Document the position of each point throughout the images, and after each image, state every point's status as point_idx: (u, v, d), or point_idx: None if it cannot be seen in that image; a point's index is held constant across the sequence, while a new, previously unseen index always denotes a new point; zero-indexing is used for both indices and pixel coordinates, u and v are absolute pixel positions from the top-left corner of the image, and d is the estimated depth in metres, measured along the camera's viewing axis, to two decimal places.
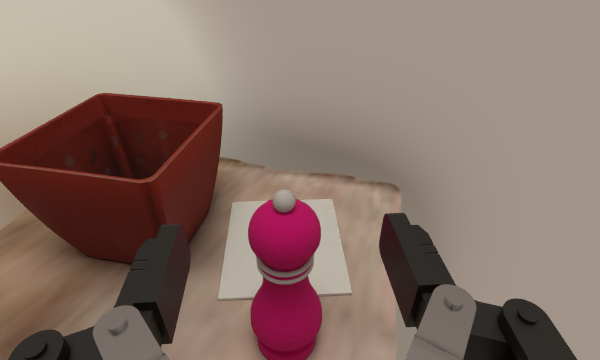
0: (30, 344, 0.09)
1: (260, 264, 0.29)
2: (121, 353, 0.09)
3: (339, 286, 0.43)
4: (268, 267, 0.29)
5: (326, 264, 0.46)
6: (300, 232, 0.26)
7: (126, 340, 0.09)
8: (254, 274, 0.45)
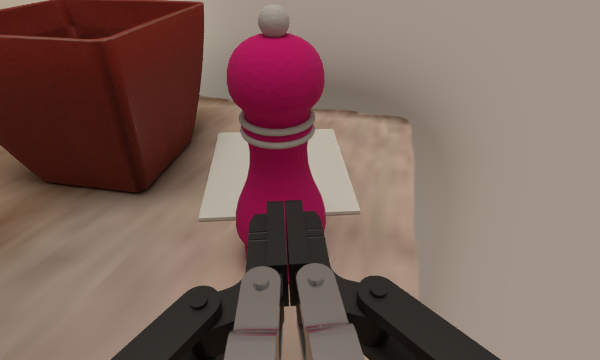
0: (197, 295, 0.10)
1: (244, 123, 0.22)
2: (274, 305, 0.10)
3: (344, 204, 0.36)
4: (255, 125, 0.22)
5: (328, 185, 0.39)
6: (296, 57, 0.19)
7: (259, 298, 0.10)
8: None
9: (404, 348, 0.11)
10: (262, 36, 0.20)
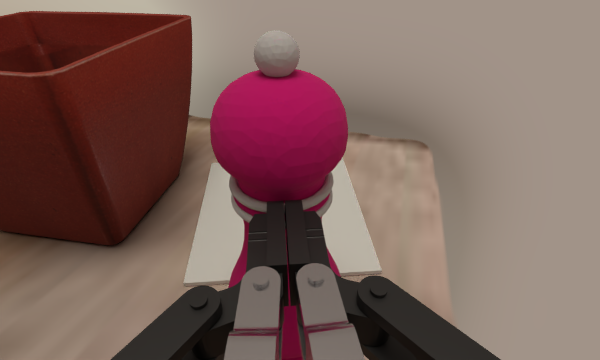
0: (197, 294, 0.10)
1: (236, 193, 0.16)
2: (274, 305, 0.10)
3: (362, 261, 0.30)
4: (251, 197, 0.16)
5: (341, 234, 0.32)
6: (311, 109, 0.13)
7: (259, 298, 0.10)
8: (239, 249, 0.31)
9: (404, 348, 0.11)
10: (260, 76, 0.14)
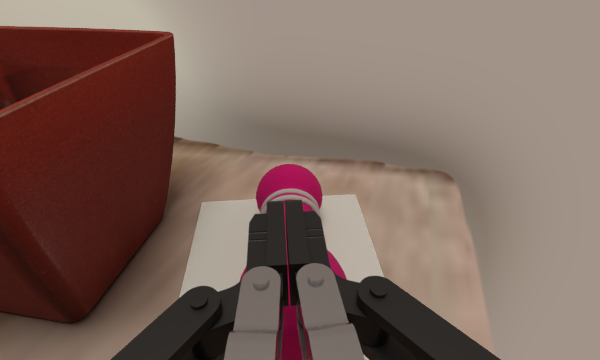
0: (197, 294, 0.10)
1: (266, 199, 0.29)
2: (274, 305, 0.10)
3: None
4: (274, 197, 0.29)
5: None
6: None
7: (259, 298, 0.10)
8: None
9: (404, 348, 0.11)
10: None
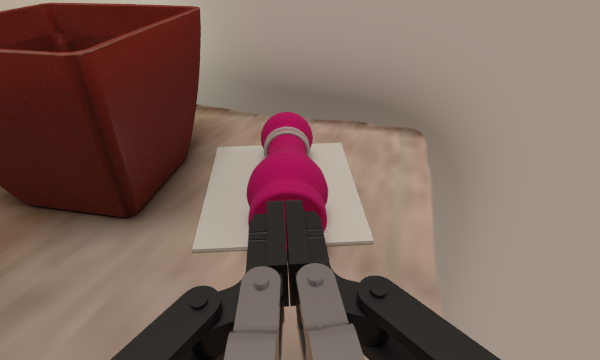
0: (197, 295, 0.10)
1: None
2: (274, 305, 0.10)
3: (355, 233, 0.32)
4: None
5: (337, 209, 0.35)
6: None
7: (259, 298, 0.10)
8: (242, 221, 0.34)
9: (404, 348, 0.11)
10: None
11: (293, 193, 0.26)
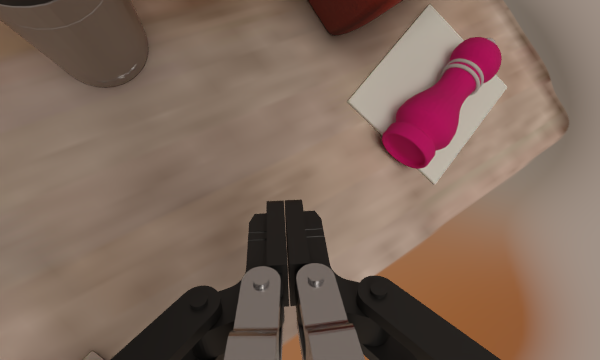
0: (197, 295, 0.10)
1: (462, 58, 0.43)
2: (274, 305, 0.10)
3: (432, 171, 0.46)
4: (467, 62, 0.42)
5: None
6: None
7: (259, 299, 0.10)
8: (387, 104, 0.45)
9: (404, 348, 0.11)
10: None
11: (421, 150, 0.39)
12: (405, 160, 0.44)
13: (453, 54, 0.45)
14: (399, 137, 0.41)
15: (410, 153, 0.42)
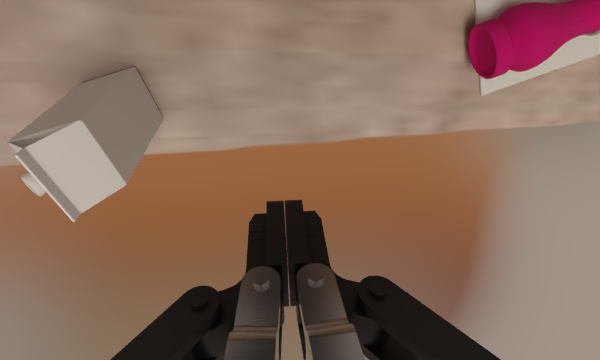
0: (197, 295, 0.10)
1: None
2: (274, 305, 0.10)
3: (488, 83, 0.46)
4: None
5: None
6: None
7: (259, 298, 0.10)
8: None
9: (404, 348, 0.11)
10: None
11: (496, 64, 0.38)
12: (476, 60, 0.42)
13: None
14: (488, 37, 0.39)
15: (485, 58, 0.41)
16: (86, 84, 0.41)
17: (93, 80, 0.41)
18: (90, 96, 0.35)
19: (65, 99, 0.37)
